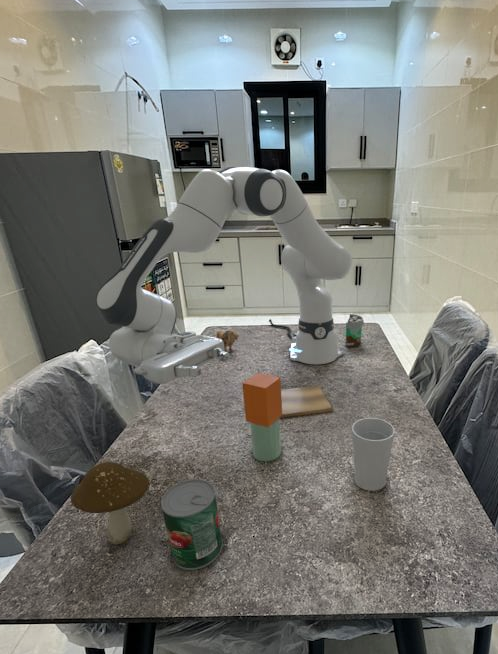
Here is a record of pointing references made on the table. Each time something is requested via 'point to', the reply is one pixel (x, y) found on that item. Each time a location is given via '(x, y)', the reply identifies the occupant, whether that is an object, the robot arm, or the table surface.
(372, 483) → the cup
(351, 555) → the table surface
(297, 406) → the wooden board
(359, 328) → the food container
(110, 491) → the mushroom
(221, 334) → the lion figurine
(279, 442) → the green cup
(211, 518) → the canned tomato
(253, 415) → the orange block
